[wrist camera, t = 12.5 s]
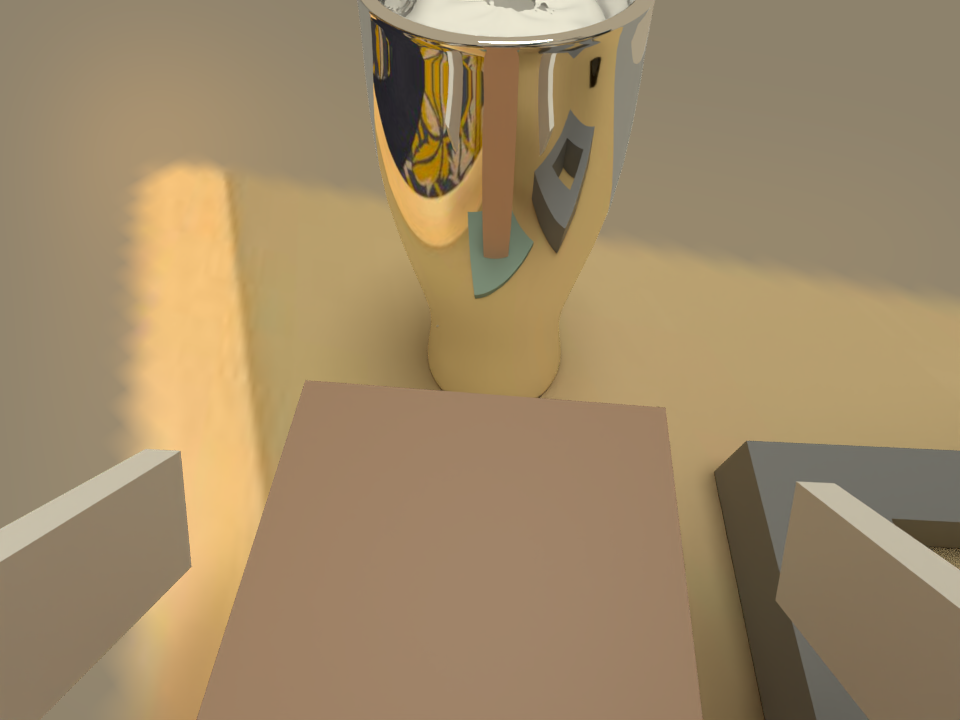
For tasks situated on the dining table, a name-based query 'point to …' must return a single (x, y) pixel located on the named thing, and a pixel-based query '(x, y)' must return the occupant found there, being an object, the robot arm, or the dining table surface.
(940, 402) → the dining table surface
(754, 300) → the dining table surface
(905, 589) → the robot arm
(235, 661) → the brown tall block
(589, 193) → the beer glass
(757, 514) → the socket block
